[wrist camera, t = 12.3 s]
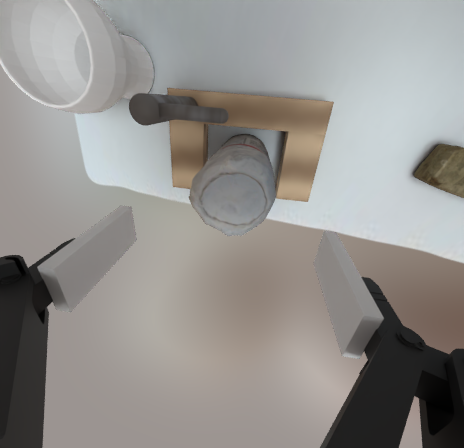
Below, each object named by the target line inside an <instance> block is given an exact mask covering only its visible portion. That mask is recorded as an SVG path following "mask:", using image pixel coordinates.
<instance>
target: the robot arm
mask: <svg viewBox="0 0 464 448" xmlns="http://www.w3.org/2000/svg"><path fill="white" fill-rule="evenodd" d="M136 240H137V239H136V232H135V226H134V220H133V214H132V208H131V207H129V206H119V207H118V208H117V209H115V210H114V211H113V212H111V213H110V214H109V215H107V216H106V217H105V218H103V219H102V220H100V221H99V222H98V223H97V224H95V225H94V226H92V227H91V228H90V229H88V230H87V231H85V232H84V233H83V234H81V235H80V236H79V237H77V238H76V239H75V238H74V239H71V240H69V241H67V242H64V243H63V244H61V245H60V246H58V247H57V248H56V249H54V250H53V251H51V252H50V254H48V255H46V256H44V257H43V258H42V259H40V260H39V261H37V262H36V263H35V264H33V265H32V266H30V267H29V268H28V267H27V265H26V263H25V261H24V259H23V257H21V256H19V255H9V256H4V257H1V258H0V448H42V445H43V444H42V443H43V424H44V423H43V422H44V402H45V401H44V400H45V381H46V359H47V338H48V317H49V312H48V309H47V306H48V305H49V304H50V303H51V302H53V303H54V306H55V307H56V310H60V311H67V312H72V310H73V309H74V308H75V307H76V306H77V305H78V304H79V303H80V301H81V300H82V299H83V298H84V297H85V296H86V295H87V294H88V293H89V292H90V291H91V289H92V288H93V287H94V286H95V285H96V284H97V283H98V282H99V281H100V280H101V278H102V277H103V276H104V275H105V274H106V273H107V272H108V271H109V270H110V269H111V267H113V265H114V264H115V263H116V262H117V261H118V260H119V259H120V258H121V257H122V256H123V254H124V253H125V252H126V251H127V250H128V249H129V248H130V247H131V246H132V245H133V243H134V242H135V241H136ZM314 267H315V270H316V273H317V277H318V280H319V283H320V286H321V290H322V293H323V296H324V299H325V303H326V306H327V309H328V312H329V316H330V318H331V322H332V325H333V329H334V332H335V335H336V338H337V341H338V345H339V348H340V351H341V354H342V356H345V357H351V358H357V359H359V358H360V357H361V355H362V353H363V352H364V351H365V354H366V356H367V359H368V361H367V362H366V364H365V365H364V367H363V369H362V370H361V372H360V373H359V374H360V375H359V377H358V379H357V380H356V382H355V384H354V386H353V388H352V390H351V391H350V393H349V395H348V397H347V399H346V401H345V402H344V404H343V406H342V408H341V410H340V412H339V413H338V415H337V417H336V419H335V421H334V423H333V425H332V427H331V428H330V430H329V432H328V434H327V436H326V438H325V439H324V441H323V443H322V445H321V447H320V448H399V444H400V441H401V438H402V435H403V431H404V428H405V425H406V421H407V418H408V415H409V412H410V408H411V405H412V402H413V398H414V396H416V397H418V398H419V406H420V419H421V431H422V445H423V448H464V349H455V350H453V351H452V352H451V353H450V354H447V353H444V352H442V351H439V350H436V349H434V348H432V347H429V346H427V345H426V344H425V342H424V340H423V339H422V338H421V337H420V336H419V335H418V334H416V333H415V332H414V331H412V330H411V329H409V328H406V327H405V326H403V325H402V323H401V321H400V320H399V318H398V317H397V315H396V313H395V312H394V310H393V309H392V307H391V305H390V304H389V302H387V299H386V297H385V296H384V295H383V293H382V291H381V289H380V288H379V286H378V285H377V284H376V283H375V282H373V280H371V279H370V278H364V277H361V276H360V274H359V272H358V271H357V269H356V267H355V265H354V264H353V262H352V260H351V258H350V256H349V254H348V252H347V251H346V249H345V247H344V245H343V243H342V242H341V240H340V238H339V236H338V235H337V233H336V232H331V231H324V233H323V236H322V239H321V242H320V245H319V248H318V252H317V255H316V258H315V261H314Z"/></svg>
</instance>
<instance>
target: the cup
mask: <svg viewBox="0 0 464 448" xmlns="http://www.w3.org/2000/svg"><path fill="white" fill-rule="evenodd" d="M0 64H1V66H2V67H3V69H4V70H5V72H6V73H7V75H8V76H9V77H10V79H11V80H12V81H13V82H14V83H15V84H16V85H17V86H18V87H19V88H20V90H22V91H23V92H24V93H25V94H27V95H28V96H29V97H31V98H32V99H33V100H35V101H37V102H39V103H41V104H43V105H45V106H48V107H52V108H55V109H59V110H63V111H67V112H72V113H77V114H83V113H95V112H102V111H104V110H106V109H108V108H110V107H112V106H113V105H114V104H116V103H117V102H118V101H119V100H120V99H121V98H122V97H123V98H127V99H131V98H132V97H133V96H134V95H135V94H138V93H146V94H147V93H148V92H149V91H150V89H151V87H152V84H153V80H154V68H153V64H152V60H151V58H150V56H149V53H148V52H147V50H146V49H145V48H144V46H143V45H142V44H141V43H140V42H139V41H137V40H136V39H134V38H132V37H130V36H126V35H121V34H120V32H119V31H118V30H117V28H116V27H115V25H114V24H113V23H112V21H111V20H110V19H109V17H108V16H107V15H106V13H105V12H104V11H103V10H102V9H101V8H100V7H99V6H98V5H97V4H96V3H95V2H94V1H93V0H0Z"/></svg>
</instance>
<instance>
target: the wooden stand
mask: <svg viewBox="0 0 464 448" xmlns="http://www.w3.org/2000/svg"><path fill="white" fill-rule="evenodd" d="M167 90H168V95H160V94H146V93H138V94H135V95H134V96H133V97H132V98H131V100H130V102H129V110H130V113H131V115H132V117H133V119H134V120H135V121H136V122H138V123H139V124H141V125H151V124H156V123H161V122H166V121H169V125H170V143H171V161H172V179H173V187H178V188H187V189H191V185H192V179H193V178H194V177H195V175H196V174H197V173H198V172H199V171H200V170H201V169H202V168H203V167H204V165H205V164H206V162H207V161H208V124H212V125H223V126H234V127H245V128H255V129H266V130H277V131H286V132H285V138H284V144H283V149H282V155H281V160H280V166H279V172H278V177H277V183H276V189H275V190H276V198H277V199H286V200H295V201H304V202H308V200H309V196H310V192H311V188H312V184H313V180H314V176H315V173H316V169H317V165H318V161H319V157H320V153H321V150H322V146H323V142H324V138H325V134H326V130H327V126H328V123H329V119H330V115H331V111H332V107H333V103H334V102H329V101H317V100H305V99H293V98H281V97H269V96H257V95H245V94H233V93H222V92H210V91H198V90H186V89H174V88H167Z"/></svg>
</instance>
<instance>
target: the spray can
mask: <svg viewBox="0 0 464 448" xmlns="http://www.w3.org/2000/svg"><path fill="white" fill-rule="evenodd" d="M275 198H276V190H275V184H274V172H273V168H272V165H271V162H270V159H269V156H268V152H267V150H266V148H265V145H264V144H263V142H262V141H261V140H260V139H258V138H256V137H255V136H253V135H250V134H249V135H247V134H241V135H237V136H233V137H232V138H231V139H229V140H228V141H227V142H226V143H225V144H224V145H222V147H221V148H220V149H219V150H218V151H217V152H216V153H215V154H213V155H212V156H211V157H210V158H209V160H208V161H207V162H206V164H205V165H204V167H203V168H202V169H201V170H200V171H199V172H198V173H197V174H196V175H195V177H194V178H193V179H192V185H191V191H190V196H189V199H190V202H191V204H192V206H193V208H194V209H195V210H196V212H197V213H198V214H199V216H200V217H201V218H202V220H203V221H204V222H205V224H208V225H210V226H212V227H214V228H216V229H218V230H220V231H221V232H222V233H224V234H225V235H227V236H232V235H244V234H245V233H247V232H248V231H250V230H252V229H253V228H254V227H256V226H258V225H259V224H260V223H261V222H263V221H264V219H265V218H266V216H267V214H268V213H269V211H270V209H271V207H272V205H273V203H274V201H275Z"/></svg>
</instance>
